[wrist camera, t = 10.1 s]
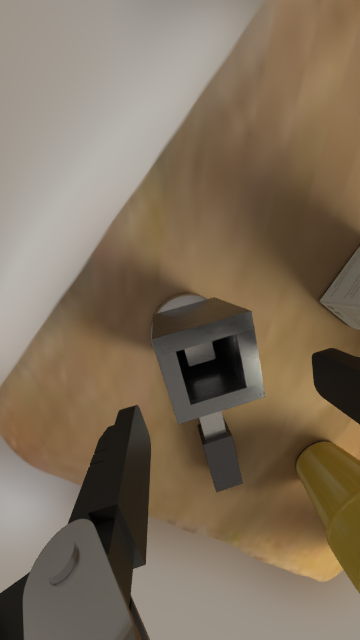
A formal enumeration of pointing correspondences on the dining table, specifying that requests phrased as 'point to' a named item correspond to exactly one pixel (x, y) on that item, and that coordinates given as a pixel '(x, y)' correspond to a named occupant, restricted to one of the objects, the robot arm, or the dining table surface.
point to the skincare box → (346, 293)
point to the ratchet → (212, 425)
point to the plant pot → (335, 500)
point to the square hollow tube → (214, 375)
